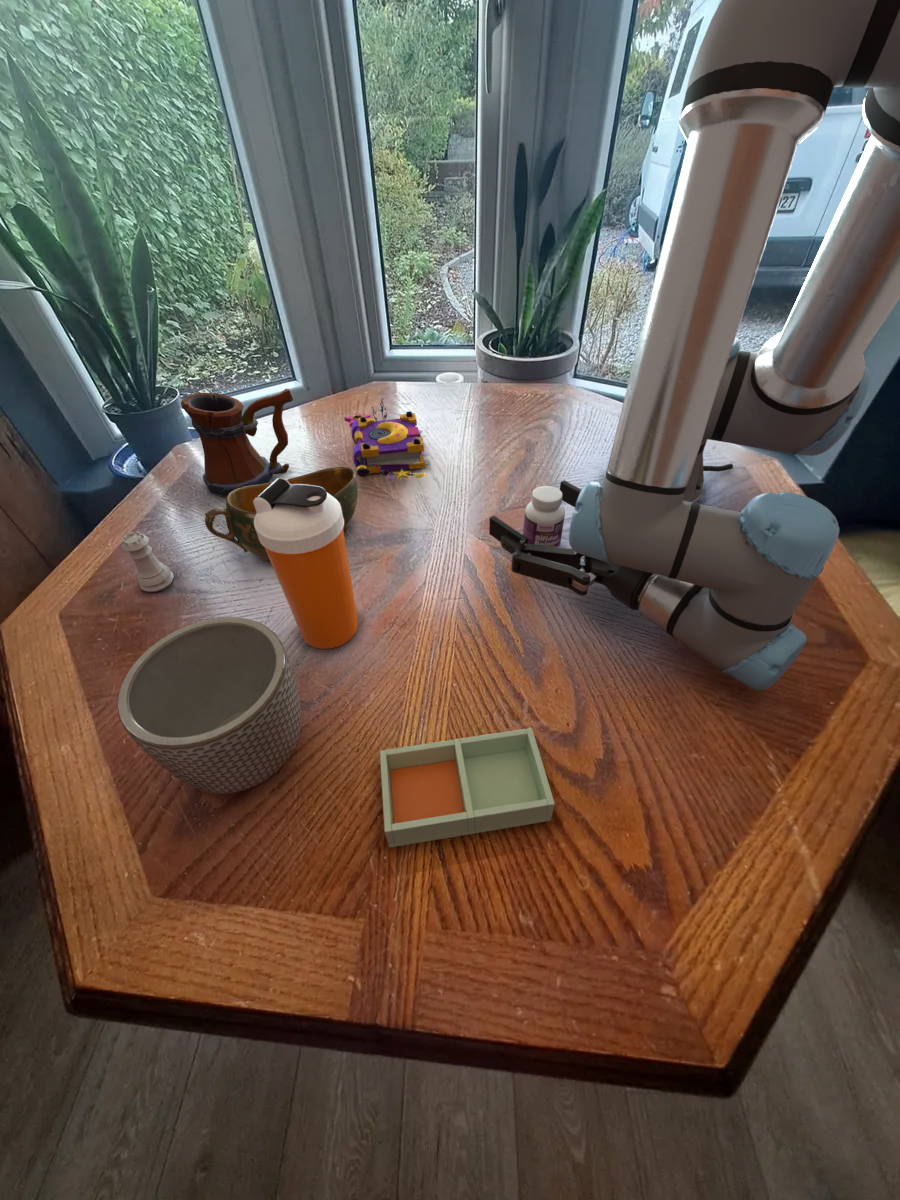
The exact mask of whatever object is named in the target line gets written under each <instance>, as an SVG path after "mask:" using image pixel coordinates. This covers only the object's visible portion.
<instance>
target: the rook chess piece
mask: <svg viewBox="0 0 900 1200" xmlns="http://www.w3.org/2000/svg"><path fill="white" fill-rule="evenodd" d="M128 534H129V536H128V535H127V534H124V535H123V536H122V539H121V542H122V544H121V549H123V551H126V552H127V553H128V555H129V558H130V559H132V560H133V562H134V564H135V566H136V569H137V571H136V574H137V576H136V579H137V584H139V587H140V589H141V590H143V591H145V592H149V593H157V592H161V591H164V590H165V589H167V588H168V587H170V585H171V584H172V583H173V580H174V578H175V575H174V573H173V572H172V570H171V568H170V567H169V566H167V565H166V564H165V563H163V562H161V561H159V559H158V558H157V556H156V555H155V554H154V552H153V548H152V546H150V545H149V542H150V538H149V537H148V536H147V535H145V534H143V532H141V531H136V532H135V533H134V531H130V532H128Z"/></svg>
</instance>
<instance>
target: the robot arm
mask: <svg viewBox="0 0 900 1200" xmlns="http://www.w3.org/2000/svg"><path fill="white" fill-rule="evenodd" d="M698 48H699V49H698V51H697V54H696V57H695V59H694V63H693V66H692V69H691V70H690V71H691V72H690V75H689V77H688V82H687V87H686V91H685V95H684V99H683V103H682V107H681V111H680V115H679V119H678V127H679V130H680V132H681V133H682V135H683V137H684V139H685V141H686V144H687V145H686V148H685V152H684V157H683V161H682V165H681V169H680V173H679V178H678V180H677V184H676V185H677V186H676V189H675V193H674V198H673V201H672V206H671V209H670V213H669V218H668V221H667V226H666V228H665V229H666V230H665V234H664V238H663V242H662V245H661V250H660V254H659V258H658V262H657V266H656V270H655V273H654V279H653V282H652V286H651V289H650V294H649V297H648V302H647V306H646V310H645V314H644V318H643V323H642V326H641V330H640V334H639V339H638V342H637V346H636V351H635V355H634V359H633V363H632V366H631V371H630V375H629V378H628V383H627V387H626V389H625V390H626V391H625V394H624V399H623V403H622V407H621V411H620V415H619V418H618V423H617V427H616V431H615V435H614V438H613V443H612V447H611V451H610V456H609V459H608V464H607V467H606V471H605V473H604V478H603V480H602V481H598V482H597V481H589V482H587V483H586V484H584V485H583V486H582V487H581V488H579V487H578V486H576V485H574V484H572V483H570V482H569V481H567V480H562V481H560V485H559V490H560V491H561V492H562V502H563V503H566V504H568V505H570V506H571V507H572V508H574V510H573V513H572V515H571V520H570V524H569V530H568V544H569V546H570V547H561V546H560V547H553V546H544V545H535V544H528V538H527V537H525V536H524V535H523V533H521V532H519V531H518V530H516V529H515V528H514V527H512V526H511V525H509V524H508V523H506V522H504V521H503V520H502V519H500V518H499V517H497V516H495V515H492V516H490V517H489V529H488V531H489V532H488V533H489V535H490V536H491V537H493V538H494V539H495V540H496V541H499V542H500V546H501V548H502V549H503V550H505V551H506V552H507V553H509V554H511V569H510V570H511V572H512V573H514V574H517V575H521V576H525V577H528V578H532V579H535V580H538V581H542V582H545V583H549V584H552V585H556V586H558V587H562V588H566V589H568V590H570V591H572V592H574V593H575V594H577V595H578V596H581V597H585V596H587V595H588V592H589V589H590V588H591V586H593V585H594V584H598V585H602V586H605V588H606V589H607V590H608V591H609V593H610V595H611V597H613V598H614V599H616V600H617V601H619V602H620V603H621V604H623V605H625V606H626V608H627V607H628V608H629V609H630V610H632V611H638V613H639V615H640V616H641V617H643V618H644V619H646V620H647V621H649V622H650V623H652V624H653V625H655V626H656V627H658V628H659V629H660V630H662V631H663V632H665V633H666V634H668V635H670V636H671V637H672V638H674V639H676V640H677V641H678V642H680V643H681V644H683V645H685V646H686V647H687V648H688V649H690V650H692V651H693V652H694V653H696V654H697V655H699V656H700V657H701V658H703V659H704V660H706V662H709V664H712V665H713V666H714V667H716V668H717V669H719V671H720V672H721V673H722V674H725V675H727V676H729V677H730V678H732V679H734V680H736V681H738V682H739V683H741V684H743V685H744V686H746V687H748V688H750V689H752V690H754V691H765V690H768V689H769V688H770V687H772V686H773V685H775V683H777V682H778V680H779V679H780V678H782V676H783V675H784V674H785V673H786V672H787V670H789V669H790V667H791V666H792V665H793V663H794V662H795V661H796V659H797V658H798V657H799V655H800V654H801V653H802V651H803V650H804V648H805V645H806V644H807V641H808V638H807V635H806V634H805V633H804V632H803V631H802V630H800V629H799V628H798V627H797V626H795V624H794V623H791V622H792V618H793V614H794V613H795V611H796V610H797V608H798V607H799V605H800V604H801V602H802V601H803V599H804V597H805V596H806V594H807V593H808V592H809V590H810V588H811V587H812V586H813V584H814V583H815V582H816V580H817V578H818V577H819V576H820V575H821V574H822V573H823V572H824V568H825V567H824V566H825V564H826V562H827V560H828V559H829V557H830V556H831V553H832V551H833V549H834V547H835V545H836V542H837V540H838V538H839V536H840V535H839V534H840V526H839V522H838V520H837V517H836V516H835V515H834V514H833V512H832V511H831V510H830V509H829V508H827V507H826V505H824V504H822V503H820V502H819V501H817V500H815V499H813V498H811V497H808V496H805V495H802V494H800V493H799V494H798V493H794V492H788V491H780V492H779V493H774V492H770V491H769V492H764V493H760V494H758V495H755V496H754V497H753V498H752V499H750V500H749V501H748V503H747V504H746V506H745V507H744V508H743V509H742V510H741V512H740V511H737V510H731V509H727V508H722V507H717V506H712V505H707V504H704V503H703V504H702V503H699V502H700V500H701V499H702V495H703V491H704V485H705V478H704V473H705V472H725V471H729V470H732V469H733V468H734V464H733V463H727V464H724V465H704V450H705V448H706V445H707V441H708V440H710V441H716V442H720V443H721V442H722V443H727V444H734V445H739V446H743V447H750V448H754V449H759V450H765V451H771V452H775V453H781V454H784V455H789V456H790V455H791V456H794V455H800V456H807V457H808V456H809V457H810V456H811V457H812V456H818V455H821V454H824V453H826V452H827V451H829V450H830V449H831V448H833V447H834V446H835V445H836V444H837V443H838V442H839V441H840V440H841V439H842V438H843V436H844V435H845V434H846V433H847V432H848V431H849V429H850V427H851V425H852V421H853V420H854V419H855V418H856V417H857V416H858V414H859V412H860V410H861V408H862V406H863V404H864V402H865V400H866V397H867V394H868V391H869V387H870V384H871V372H870V370H869V368H868V367H867V366H866V360H865V355H864V352H865V351H866V349H867V348H868V346H869V345H870V343H871V342H872V340H873V339H874V338H875V336H876V335H877V333H878V332H879V330H880V328H881V327H882V326H883V324H884V323H885V321H886V320H887V318H888V316H889V315H890V314H891V312H892V311H893V309H894V308H895V306H896V305H897V303H898V302H899V300H900V0H720V2H719V4H718V6H717V8H716V10H715V11H714V14H713V15H712V18H711V20H710V22H709V24H708V27H707V29H706V32H705V34H704V36H703V39H702V41H701V44H700V46H699V47H698ZM838 87H839V88H840V87H841V89H855V88H856V89H858V88H859V89H860V88H863V89H866V88H868V89H867V90H866V94H865V97H864V99H863V103H862V110H861V112H862V119H863V122H864V125H865V127H866V129H867V131H868V132H869V133H870V137H869V139H868V141H867V144H866V146H865V148H864V151H863V153H862V155H861V157H860V158H859V162H858V163H857V166H856V168H855V170H854V173H853V175H852V176H851V179H850V181H849V184H848V186H847V188H846V190H845V192H844V194H843V196H842V199H841V202H840V203H839V205H838V208H837V209H836V212H835V214H834V216H833V219H832V220H831V223H830V226H829V228H828V230H827V232H826V234H825V236H824V239H823V241H822V243H821V245H820V247H819V250H818V252H817V254H816V256H815V258H814V261H813V263H812V265H811V268H810V270H809V272H808V274H807V276H806V278H805V281H804V282H803V285H802V287H801V289H800V291H799V294H798V296H797V298H796V301H795V303H794V305H793V307H792V309H791V311H790V314H789V315H788V318H787V320H786V322H785V325H784V326H783V329H782V331H781V332H779V333H777V334H776V335H774V336H773V337H771V338H769V340H767V341H766V342H765V343H764V344H763V345H762V347H761V348H760V349H759V352H756V351H746V350H740V349H741V345H740V339H739V338H738V337H737V333H738V331H739V328H740V325H741V322H742V319H743V315H744V312H745V309H746V306H747V304H748V301H749V297H750V294H751V291H752V288H753V285H754V282H755V278H756V276H757V273H758V269H759V267H760V263H761V261H762V257H763V254H764V252H765V248H766V245H767V241H768V238H769V236H770V232H771V229H772V226H773V223H774V220H775V217H776V214H777V212H778V207H779V205H780V202H781V199H782V196H783V193H784V190H785V187H786V183H787V180H788V178H789V175H790V171H791V168H792V166H793V161H794V159H795V156H796V153H797V149H798V146H799V145H800V144H801V143H803V142H804V141H805V140H806V139H807V138H808V137H809V136H810V135H811V134H813V133H814V132H816V130H817V129H818V128H819V127H820V126H821V124H823V123H822V122H823V120H824V118H825V114H826V111H827V108H828V105H829V102H830V99H831V96H832V94H833V90H834V88H838ZM528 553H530V554H531V555H528ZM582 558H583V563H584V564H581V560H582Z"/></svg>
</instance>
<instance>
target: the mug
mask: <svg viewBox="0 0 900 1200" xmlns="http://www.w3.org/2000/svg"><path fill="white" fill-rule="evenodd" d="M292 401H294V396H293V394H292V392H291V390H290V389H289V388H285V389H283V390H282V391H280V392H278V393H276V394H273V395H269V396H265V397H261V398H259V399H257V400H255V401H253V402H252V403H250V404H249V405H248V406H247V407H246V408H245V410H244V405H243V402H242V401H241V400H239V399H237V398H235V397H232V396H229V395H227V394H221V393H218V392H217V393H216V392H214V393H213V392H197V393H193V394H192V393H191V394H189V395H187V396H185V397H184V398H183V399H182V400H181V401H180V402H179V403H180V406H181V408H182V409H183V410H184V411H185V413H186V414H187V415H188V416H189V418H190V419H191V426H192V427H193V429H194V431H196V433H198V436H199V439H200V442H201V446H202V452H203V459H204V460H203V461H204V473H203V475H202V481H203V482H204V484H205V486H206V488H207V489H208V491H209V492H210V493H212V494H214V495H216V496H218V497H219V496H220V497H222V498H227V495H228V494H229V493H230V492H231V491H233V490H235V489H237V488H241V487H245V486H251V485H258V484H265V483H271V480H272V477H273V475H281V474H286V473H287V472H288V470H289V468H290V464H289V463H284V464H283V465H282V464H281V462H278V456H279V455H280V454H281V453H283V451H284V450H285V449H286V448H287V446H288V445H289V436H288V432H287V430H286V427H285V424H284V422H283V411H284V405H285V404H288V403H291V402H292ZM269 407H274V408H273V409H274V410H273V413H272V418H271V419H272V422H271V423H272V428H273V432H274V435H275V438H276V440H277V443H276V445H275V446H274V447H273V449H272V450H271V452H270V455H269V461H268V459H267V458H266V457H265V456H262V455H260V453H259V452H258V451H257V450H256V448H255V447H254V446H253V444H252V443H251V441H250V439H249V437H248V436H250V437H255V436H256V435H257V432H258V425H259V422H258V420H257V419H256V418H255V417H254V416H255V413H257V412H259V411H261V410H263V409H266V408H269ZM243 410H244V412H243Z"/></svg>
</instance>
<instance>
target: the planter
mask: <svg viewBox="0 0 900 1200" xmlns="http://www.w3.org/2000/svg"><path fill="white" fill-rule="evenodd" d="M290 660H291V659H290V658H289V655H288V652H287V650H286V648H285V646H284V644H283V642H282V640H281V639H280V637H279V636H278V635H277V634H276V633H275V632H274V631H273V630H272V629H271V628H270V627H269V626H267V625H265V624H263V623H261V622H259V621H256V620H253V619H249V618H244V617H237V616H234V617H233V616H224V617H215V618H208V619H205V620H200V621H197V622H193V623H191V624H189V625H186V626H183V627H181V628H179V629H176V630H174V631H172V632H171V633H169V634H167V635H165V636H164V637H162V638H161V639H160V640H158V641H157V642H155V643H154V644H153V645H151V646H150V647H149V648H147V650H145V651H144V652H143V653H142V654H141V655H140V656H139V658H138V659H137V660H136V661H135V662H134V663H133V664H132V666H131V667H130V668H129V670H128V671H127V672H126V674H125V677H124V678H123V681H122V682H121V684H120V687H119V691H118V694H117V705H116V706H117V714H118V718H119V720H120V723H121V726H122V727H123V729H124V731H125V732H126V733H127V735H128V736H129V737H130V739H131V740H132V741H133V742H134V743H135V744H136V745H137V746H138V747H139V748H140V749H141V750H143V751H144V752H145V753H146V754H147V755H148V756H149V757H150V758H151V759H152V760H153V761H155V763H156V764H158V765H159V766H161V767H162V768H163V769H164V770H165V771H166V772H167V773H169V774H170V775H172V776H173V777H174V778H175V779H177V780H178V781H179V782H181V783H183V784H184V785H186V786H188V787H190V788H192V789H194V790H197V791H200V792H203V793H208V794H218V795H224V794H226V795H227V794H235V793H239V792H242V791H246V790H248V789H251V788H254V787H256V786H257V785H260V784H262V783H263V782H265V781H266V780H267V779H269V778H271V777H272V776H273V775H275V774H276V773H277V772H278V771H279V770H280V769H281V768H283V766H284V765H285V764H286V762H287V761H288V760H289V758H290V757H291V756H292V754H293V752H294V751H295V749H296V747H297V744H298V741H299V738H300V735H301V730H302V723H303V721H302V720H303V719H302V718H303V716H302V715H303V714H302V706H301V700H300V695H299V690H298V686H297V682H296V678H295V675H294V671H293V667H292V664H291V661H290Z"/></svg>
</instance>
